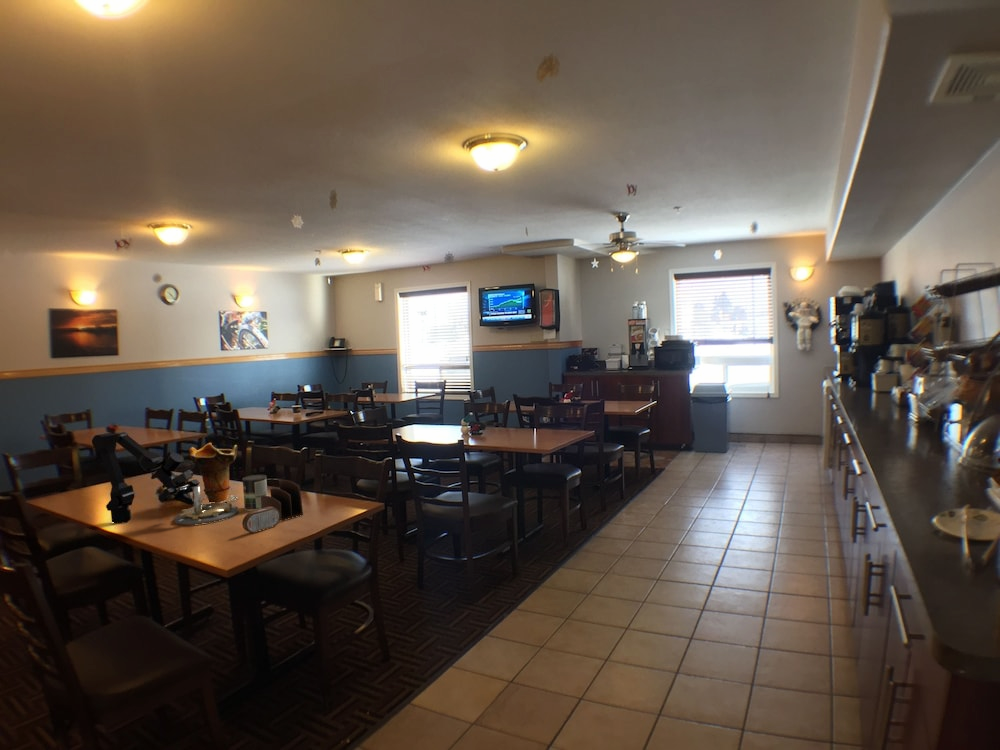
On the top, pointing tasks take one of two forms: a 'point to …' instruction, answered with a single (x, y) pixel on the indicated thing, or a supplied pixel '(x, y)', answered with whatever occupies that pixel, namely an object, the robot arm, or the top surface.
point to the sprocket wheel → (204, 507)
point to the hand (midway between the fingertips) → (192, 504)
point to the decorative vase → (214, 470)
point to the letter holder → (284, 499)
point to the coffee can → (254, 491)
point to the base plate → (206, 518)
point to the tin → (261, 519)
